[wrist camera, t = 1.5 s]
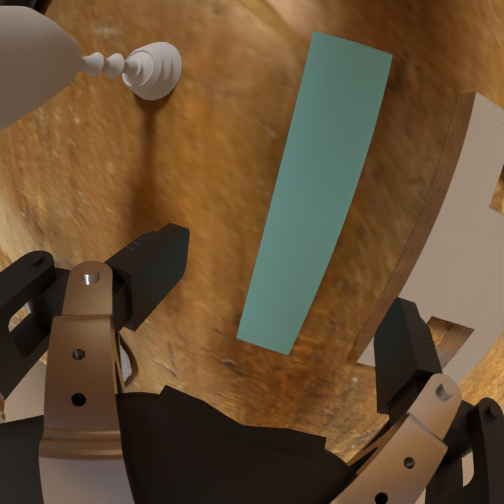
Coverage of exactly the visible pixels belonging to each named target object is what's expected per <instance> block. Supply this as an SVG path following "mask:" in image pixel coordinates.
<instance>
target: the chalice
mask: <svg viewBox="0 0 504 504" xmlns="http://www.w3.org/2000/svg"><path fill="white" fill-rule="evenodd" d="M79 71H81V72H85V73H87V74H88V75H89V76H90V77H95V76H97V75H98V74H99V73H102V72H105V73H106V75H107V76H108V77H109V78H111V79H114V78H116V77H118V76H119V75H120V74H122V77H123V80H124V83H125V85H126V86H127V87H128V89H130V90H132V91H133V92H134V93H136V94H137V96H139V97H141V98H142V99H144V100H151V101H153V100H157V99H161V98H162V97H164V96H166V95H167V94H169V93H170V92H171V91H172V90H173V89H174V87H175V86H176V84H177V82H178V80H179V79H180V75H181V71H182V59H181V56H180V54H179V52H178V50H177V49H176V48H175V47H174V46H173V45H171V44H168V43H166V42H156V43H153V44H149V45H147V46H143V47H141V48H138V49H136V50H135V51H133V52H132V53H131V54H130V55H129V57H128V58H127V59H126V61H125V60H124V59H123V57H122V55H120V54H113V55H112V56H110V57H109V58H107V59H106V58H104V57H103V56H102V54H101V53H99V52H96V53H94V54H92V55H91V56H85V57H81V49H80V46H79V44H78V43H77V42H76V41H75V40H74V39H73V38H72V37H71V36H70V35H69V34H68V33H66V32H65V31H64V30H63V29H62V28H61V27H60V26H59V25H58V24H57V23H55V22H54V21H53V20H51V19H49V18H47V17H46V16H44V15H42V14H40V13H39V12H37V11H35V10H33V9H31V8H28V7H24V6H0V130H3V129H5V128H7V127H8V126H10V125H12V124H13V123H15V122H16V121H18V120H19V119H21V118H22V117H24V116H25V115H27V114H29V113H30V112H32V111H33V110H35V109H37V108H38V107H40V106H41V105H43V104H44V103H45V102H46V101H48V100H49V99H50V98H52V97H53V96H54V95H56V94H57V93H59V92H60V91H61V90H63V89H64V88H66V87H67V86H69V85H70V84H71V82H72V81H73V80H74V79H75V77H76V75H77V73H78V72H79Z"/></svg>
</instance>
